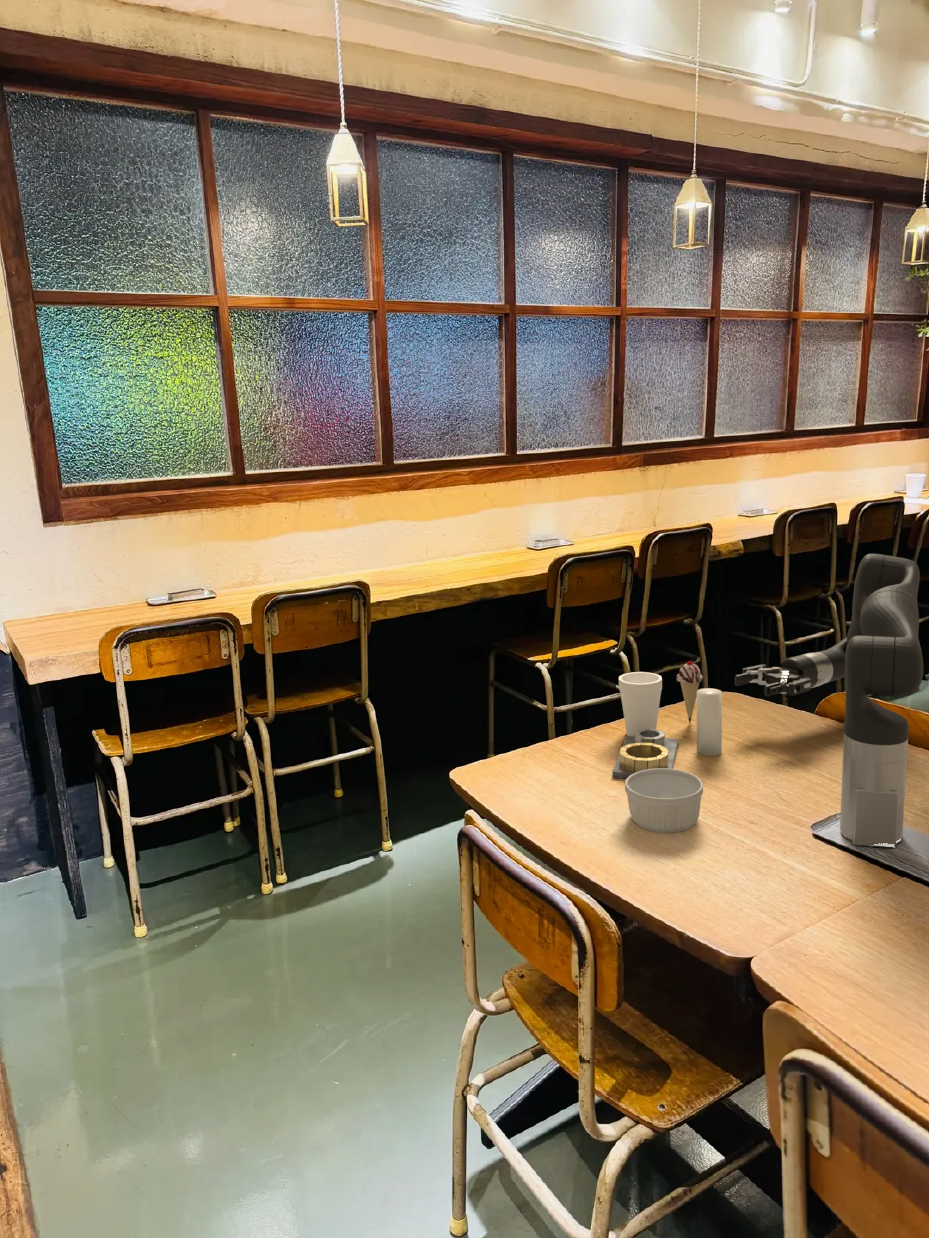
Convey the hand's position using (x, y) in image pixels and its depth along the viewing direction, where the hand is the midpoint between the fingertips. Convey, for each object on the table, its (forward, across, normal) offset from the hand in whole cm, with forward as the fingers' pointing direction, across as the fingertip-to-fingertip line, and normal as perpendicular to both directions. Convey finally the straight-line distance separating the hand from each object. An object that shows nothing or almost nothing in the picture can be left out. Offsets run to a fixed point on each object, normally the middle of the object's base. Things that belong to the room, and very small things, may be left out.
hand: (750, 685), depth 178 cm
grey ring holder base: (+25, -3, +12) cm, 28 cm away
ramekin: (+39, +20, +12) cm, 45 cm away
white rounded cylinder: (+12, 0, +12) cm, 17 cm away
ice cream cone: (+4, -14, +12) cm, 19 cm away
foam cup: (+17, -16, +12) cm, 26 cm away
